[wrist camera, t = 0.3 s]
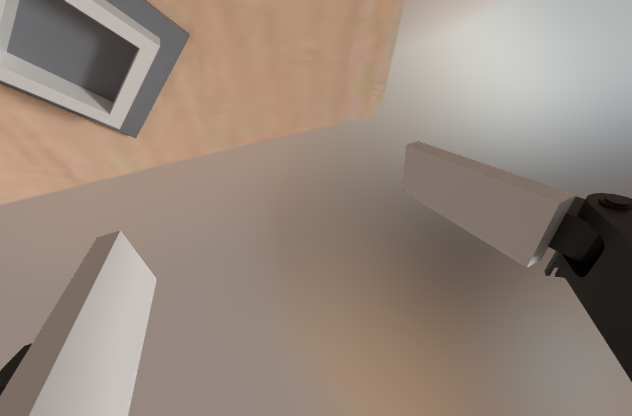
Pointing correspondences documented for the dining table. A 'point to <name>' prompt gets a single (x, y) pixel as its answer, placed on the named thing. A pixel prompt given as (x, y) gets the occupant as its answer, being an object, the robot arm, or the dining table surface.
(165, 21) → the socket
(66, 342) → the robot arm
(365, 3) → the dining table surface
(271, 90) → the dining table surface
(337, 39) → the dining table surface
